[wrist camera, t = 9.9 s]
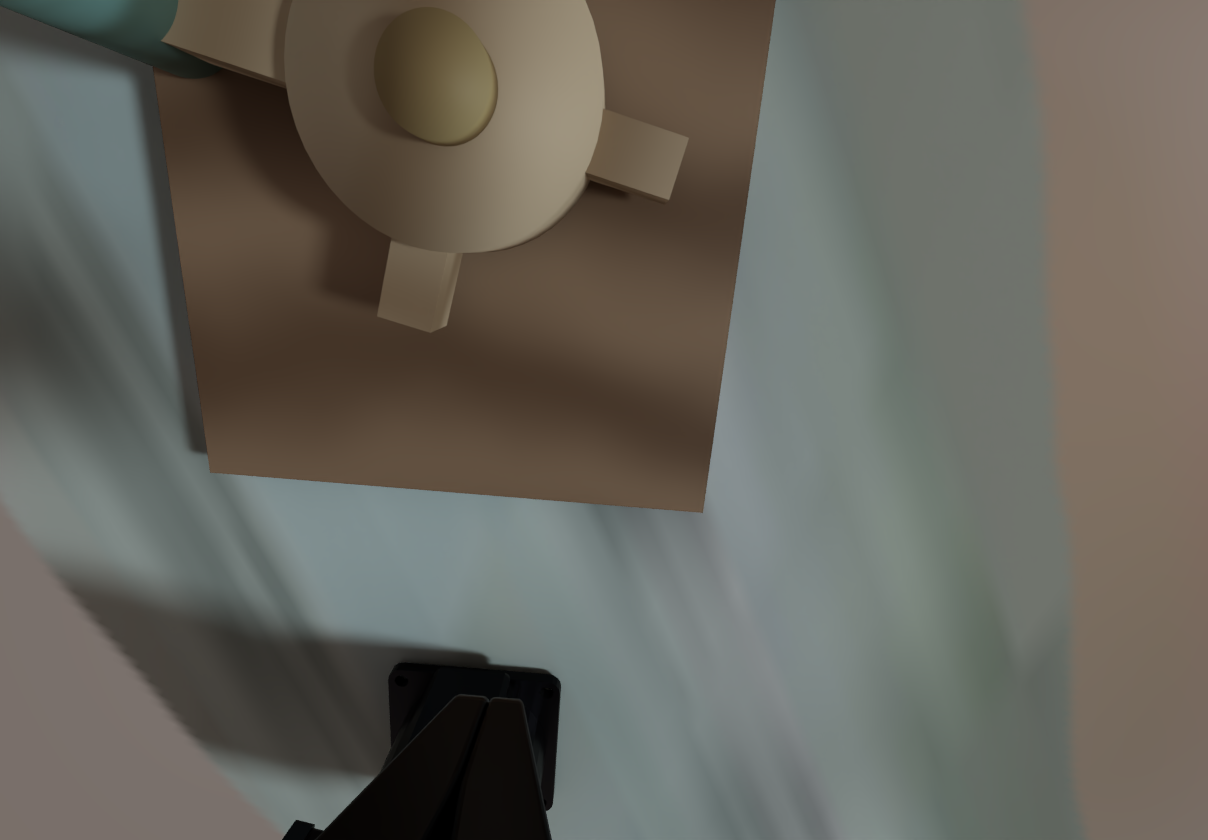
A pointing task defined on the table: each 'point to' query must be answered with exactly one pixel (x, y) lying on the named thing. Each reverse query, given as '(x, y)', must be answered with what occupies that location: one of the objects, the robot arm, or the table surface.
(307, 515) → the table surface
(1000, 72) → the table surface
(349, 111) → the capstan
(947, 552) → the table surface
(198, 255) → the stand
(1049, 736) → the table surface
